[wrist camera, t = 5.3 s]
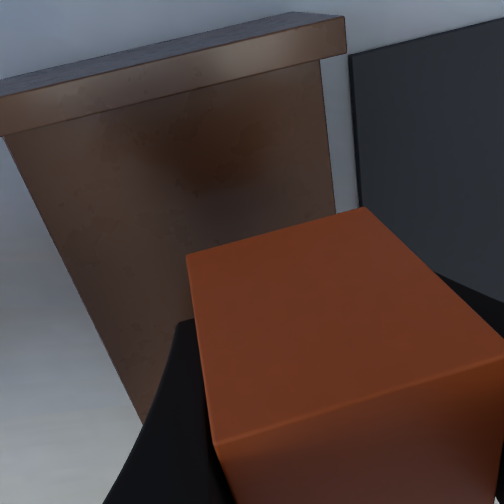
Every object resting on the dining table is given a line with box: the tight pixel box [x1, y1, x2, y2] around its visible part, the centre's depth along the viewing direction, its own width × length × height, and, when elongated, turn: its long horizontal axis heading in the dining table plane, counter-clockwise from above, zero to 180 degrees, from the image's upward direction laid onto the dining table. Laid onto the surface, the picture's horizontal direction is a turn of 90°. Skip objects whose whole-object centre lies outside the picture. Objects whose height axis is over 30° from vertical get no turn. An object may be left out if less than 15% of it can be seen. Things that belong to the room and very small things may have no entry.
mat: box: [349, 18, 504, 303], centre depth 24 cm, size 10×20×1 cm, turn 11°
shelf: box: [0, 12, 347, 424], centre depth 21 cm, size 11×26×5 cm, turn 11°
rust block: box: [186, 207, 504, 504], centre depth 9 cm, size 4×4×5 cm
